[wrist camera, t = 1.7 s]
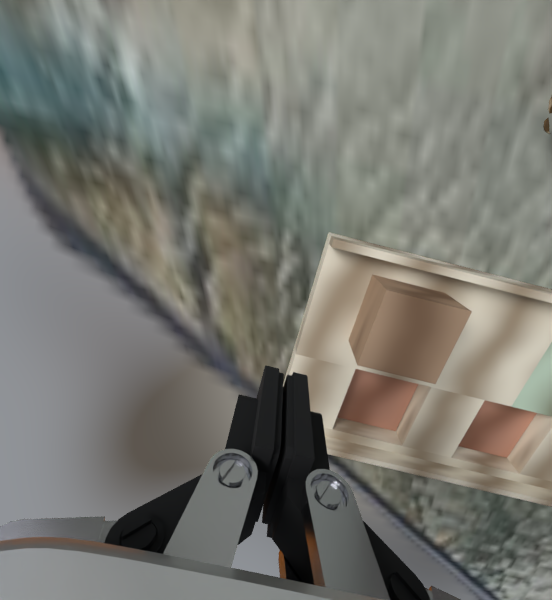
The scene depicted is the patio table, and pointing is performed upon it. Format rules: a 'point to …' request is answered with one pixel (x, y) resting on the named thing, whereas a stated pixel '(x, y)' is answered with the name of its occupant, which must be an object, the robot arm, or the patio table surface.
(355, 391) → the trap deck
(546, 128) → the pine cone
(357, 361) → the walnut block
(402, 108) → the patio table surface
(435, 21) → the patio table surface
